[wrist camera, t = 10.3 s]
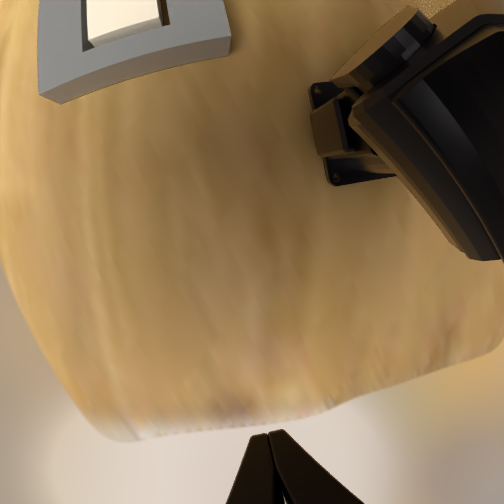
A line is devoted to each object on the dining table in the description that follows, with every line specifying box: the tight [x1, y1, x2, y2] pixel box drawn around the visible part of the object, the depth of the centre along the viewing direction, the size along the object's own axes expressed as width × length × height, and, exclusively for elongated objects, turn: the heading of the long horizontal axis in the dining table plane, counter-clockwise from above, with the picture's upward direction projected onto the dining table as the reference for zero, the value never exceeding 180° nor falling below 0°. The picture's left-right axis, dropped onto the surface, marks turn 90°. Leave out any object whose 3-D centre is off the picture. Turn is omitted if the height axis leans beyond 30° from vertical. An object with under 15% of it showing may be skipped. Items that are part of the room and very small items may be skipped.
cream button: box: [87, 0, 164, 47], centre depth 13 cm, size 4×4×3 cm
